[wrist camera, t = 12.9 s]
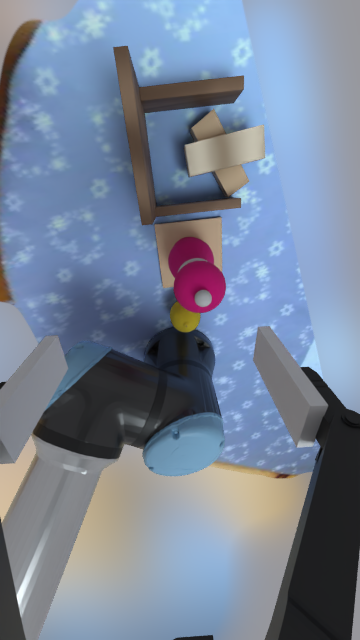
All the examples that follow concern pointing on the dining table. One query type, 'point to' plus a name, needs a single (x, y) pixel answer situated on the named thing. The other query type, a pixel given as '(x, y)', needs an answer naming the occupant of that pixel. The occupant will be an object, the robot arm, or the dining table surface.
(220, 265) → the cork mat
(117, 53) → the rack
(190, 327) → the lemon
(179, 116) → the dining table surface
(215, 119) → the offcut bottom
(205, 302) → the pepper mill
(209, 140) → the offcut top
